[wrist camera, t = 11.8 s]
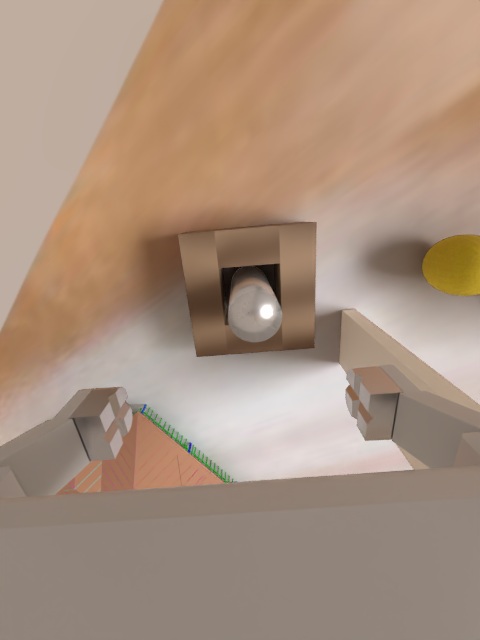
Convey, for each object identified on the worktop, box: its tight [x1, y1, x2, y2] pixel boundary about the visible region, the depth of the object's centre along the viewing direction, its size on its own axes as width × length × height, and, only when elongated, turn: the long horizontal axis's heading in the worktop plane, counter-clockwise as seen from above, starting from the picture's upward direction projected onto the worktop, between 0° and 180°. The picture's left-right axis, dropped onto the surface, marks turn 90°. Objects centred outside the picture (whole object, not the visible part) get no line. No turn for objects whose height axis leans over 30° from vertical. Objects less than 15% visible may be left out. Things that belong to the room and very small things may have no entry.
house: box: [55, 405, 233, 495], centre depth 38 cm, size 23×33×8 cm
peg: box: [228, 266, 282, 342], centre depth 25 cm, size 4×4×11 cm
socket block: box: [178, 222, 316, 357], centre depth 28 cm, size 12×12×5 cm
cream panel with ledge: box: [339, 309, 480, 470], centre depth 19 cm, size 11×13×30 cm
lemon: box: [422, 235, 480, 296], centre depth 25 cm, size 6×6×8 cm
